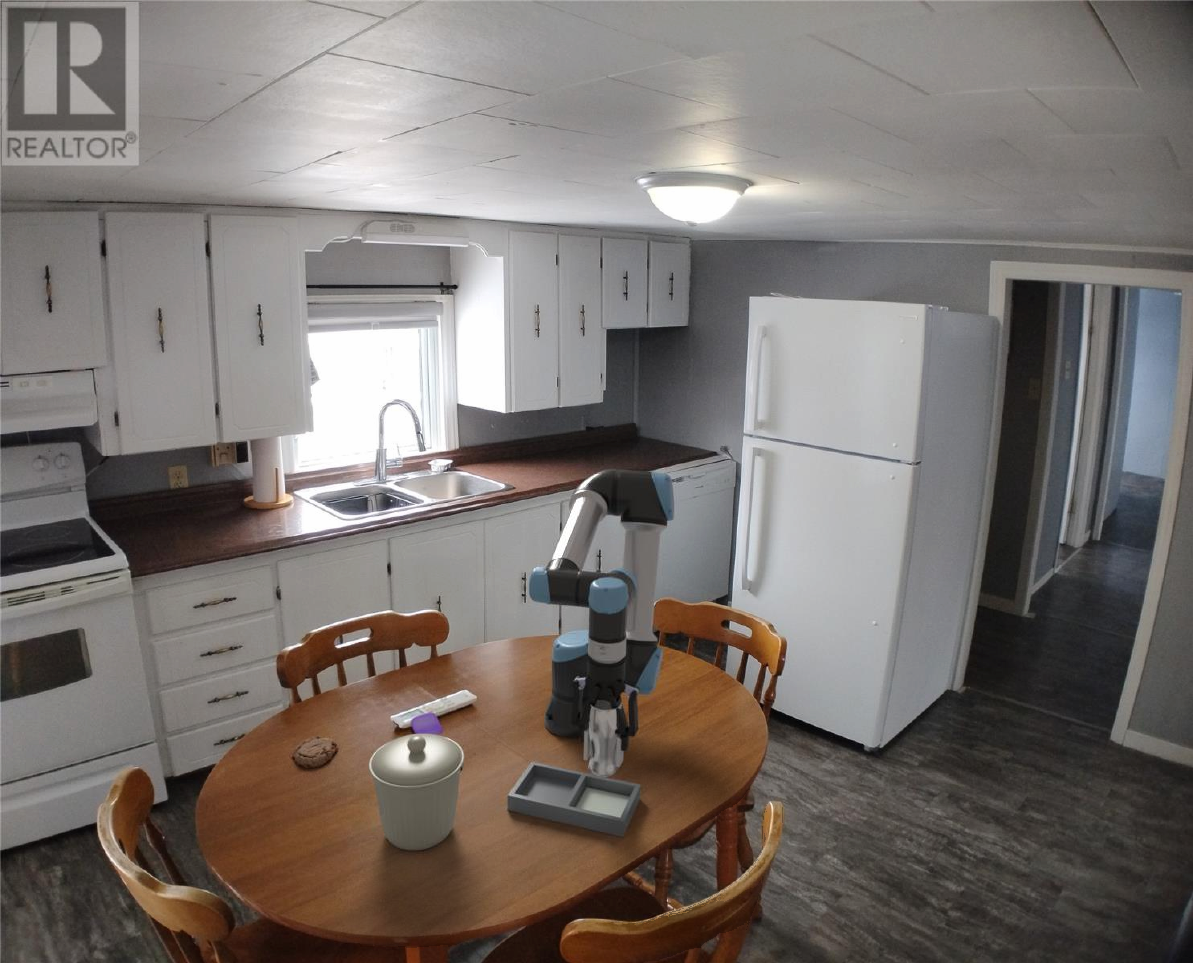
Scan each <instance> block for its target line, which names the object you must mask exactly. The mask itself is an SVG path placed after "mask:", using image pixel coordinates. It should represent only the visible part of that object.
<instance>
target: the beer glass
mask: <svg viewBox="0 0 1193 963" xmlns="http://www.w3.org/2000/svg"><path fill="white" fill-rule="evenodd" d="M622 705H623V703H622V702H621V704H620V705H619V707H616V708H614V709H613V708H612V707H611V704H610V702H607V701H605V700H597V703H596V705H595V707H594V706H593V705H592V704H591V702H589V711H588V734H589V740H590V747H591V755H590V756H589V762H588V766H587V767H588V768H587V769H588V771H589V772H590V774H593V775H597V776H602V777H611V776H614V775H615V774H616V772H618V769H619V767H616V751H617V737H618V736H619V735H620V731H619V714H618V708H619V709H621V707H622Z"/></svg>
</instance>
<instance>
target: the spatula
mask: <svg viewBox="0 0 1193 963" xmlns="http://www.w3.org/2000/svg"><path fill="white" fill-rule="evenodd" d="M410 726H411V728H412V730H413V732H414V734H435V735H438V734H441V733H443V732H444V730H443V727H442V725H441V722H440V721H439V719H438V717H437V715H436V713H435V712H426V713H423V714H419V715H417V716H414V717H413V718H412V719H411V720H410ZM462 768H463V766H462V767H461V768H460V770H462Z"/></svg>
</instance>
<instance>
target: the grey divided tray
mask: <svg viewBox="0 0 1193 963" xmlns="http://www.w3.org/2000/svg"><path fill="white" fill-rule="evenodd" d="M640 800H641V784H639V783H633V782H630V781H626V780H620V779H615V778H611V777H608V776H606V777H602V776H597V775H594V774H592V773H588V772H582V771H577V770H574V769H568V768H564V767H560V766H554V765H550V764H544V763H541V762H535V761H531V762H530V763H529V764H528V766H527V768H525V770H524V771H523V773H522V774H521V776H520V777H519V779H518V780H517V782H516V783H515V784H514V786H513V787H512V788H511V790H510V791H509V793H508V794H507V811H511V812H514V813H518V814H522V815H527V816H531V817H535V818H540V819H544V820H548V821H552V822H557V823H561V824H565V825H569V826H574V827H578V828H583V829H587V830H592V831H594V832H595V831H596V832H599V833H603V834H609V835H611V836H616V837H621V838H624V837H625V834H626V831H627V830H628V827H629V825H630V823H631V820H632V818H633V817H634V816H633V815H634V813H635V812H636V809H637V807H638V805H639V802H640Z"/></svg>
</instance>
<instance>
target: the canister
mask: <svg viewBox="0 0 1193 963" xmlns="http://www.w3.org/2000/svg"><path fill="white" fill-rule="evenodd" d="M464 762H465V751H464V749H463V747H461V745H459V743H458V742H456V741H455V740H454V739H451V738H449V737H446V736H443V735H438V734H415V733H413V734H407V735H404V736H403V735H402V736H400V737H397V738H395V739H392V740H390V741H388V742H386V743H385V744H383V745H382V746H380V747H379V748H377V750H375V752H373V754H372V755H371V757H370V759H369V761H368V771H369V773H370V775H371V776H372V778H373V783H374V788H375V793H376V800H377V806H378V812H379V816H380V822H381V826H382V831H383V833H384V835H385V837H386V839H387V840H388V841H389V842H390V844H392V845H393V846H394V847H396V848H400V850H405V851H422V850H427V849H430V848H432V847H435V846H436V845H439V844H440V843H441V842H443V841H444V840H445V839H446V838H448V835H449V834H450V832H451V830H452V828H453V827H454V824H455V818H456V812H457V804H458V798H459V796H458V794H459V785H460V778H461V777H460V776H461V769H462V768H463V764H464ZM461 767H462V768H461ZM460 768H461V769H460Z"/></svg>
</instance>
